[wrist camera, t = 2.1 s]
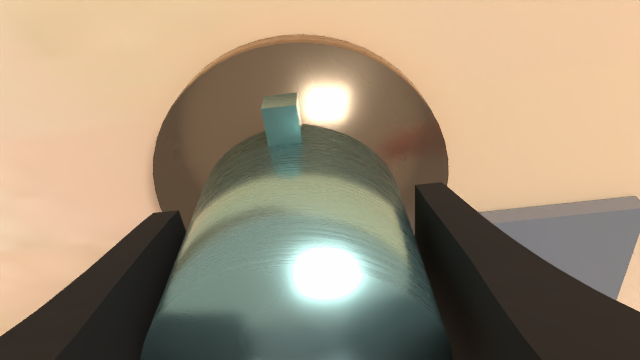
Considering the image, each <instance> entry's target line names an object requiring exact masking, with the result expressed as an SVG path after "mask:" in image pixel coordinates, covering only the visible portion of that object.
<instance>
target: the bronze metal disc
mask: <svg viewBox="0 0 640 360" xmlns="http://www.w3.org/2000/svg"><path fill="white" fill-rule="evenodd" d="M296 92H297V95H298V101H299V108H300V115H301V122H302V125H303V126H317V127H322V128H327V129H332V130H335V131H338V132H341V133H344V134H346V135H348V136H351V137H353V138H355V139H357V140H359V141H360V142H362V143H363V144H365V145H366V146H368V147H369V148H370V149H372V150H373V151H374V152H375V153H376V154H377V155H378V156H379V157H380V158H381V159H382V160H383V161H384V162H385V163H386V165H387V166H388V168H389V169H390V171H391V172H392V174H393V176H394V178H395V181H396V183H397V185H398V188H399V191H400V194H401V197H402V200H403V203H404V206H405V209H406V212H407V215H408V218H409V221H410V224H411V227H412V230H413V233H414V236H415V185H418V184H428V183H437V182H442V183H443V184H445V185H446V186H447V183H448V156H447V150H446V145H445V141H444V138H443V135H442V132H441V129H440V127H439V124H438V122H437V120H436V119H435V117H434V115H433V113H432V111H431V109H430V108H429V106H428V105H427V103H426V101H425V100H424V98H423V97H422V95H421V94H420V93H419V91H418V90H417V89H416V87H415V86H414V85H413V83H412V82H411V81H410V80H409V79H408V78H407V77H406V76H405V75H404V74H403V73H402V72H401V71H399V70H398V69H397V68H396V67H394V66H393V65H392V64H390V63H389V62H388V61H386V60H385V59H383V58H382V57H380V56H378V55H376V54H375V53H373V52H371V51H369V50H367V49H365V48H363V47H360V46H357V45H355V44H352V43H349V42H347V41H343V40H339V39H334V38H330V37H325V36H315V35H284V36H276V37H271V38H266V39H261V40H257V41H254V42H251V43H248V44H246V45H243V46H240V47H238V48H236V49H234V50H232V51H230V52H228V53H226V54H224V55H222V56H220V57H219V58H217V59H216V60H215V61H213V62H212V63H210V64H209V65H207V66H206V67H205V68H204V69H203V70H202V71H201V72H200V73H198V74H197V75H196V76H195V77H194V78H193V79H192V80H191V81H190V83H189V84H188V85H187V86H186V88H185V89H184V90H183V92H182V93H181V94H180V96H179V97H178V98H177V100H176V101H175V103H174V104H173V105H172V107H171V109H170V111H169V112H168V114H167V116H166V118H165V120H164V121H163V123H162V126H161V129H160V132H159V135H158V137H157V141H156V146H155V152H154V157H153V177H154V184H155V191H156V194H157V198H158V201H159V205H160V207H161V210H162V212H168V211H177V210H179V212H180V215H181V218H182V221H183V224H184V226H185V229H186V232H187V229H188V227H189V224H190V221H191V219H192V216H193V214H194V211H195V208H196V206H197V203H198V200H199V198H200V195H201V193H202V190H203V187H204V185H205V182H206V180H207V178H208V176H209V174H210V172H211V170H212V169H213V167H214V166H215V164H216V163H217V162H218V161H219V160H220V159H221V157H222V156H223V155H224V154H225V153H226V152H228V151H229V150H230V149H231V148H232V147H234V146H235V145H237V144H238V143H240V142H241V141H243V140H245V139H246V138H248V137H251V136H253V135H255V134H257V133H260V132H263V131H265V127H264V122H263V117H262V112H261V107H262V102H263V98H264V96H270V95H279V94H287V93H296Z"/></svg>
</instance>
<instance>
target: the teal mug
mask: <svg viewBox="0 0 640 360" xmlns="http://www.w3.org/2000/svg"><path fill="white" fill-rule="evenodd" d="M261 112H262V117H263V122H264V127H265V131H263V132H260V133H257V134H255V135H253V136H251V137H248V138H246V139H245V140H243V141H241V142H240V143H238V144H237V145H235V146H234V147H232V148H231V149H230V150H229V151H228V152H226V153H225V154H224V155H223V156H222V157H221V159H220V160H219V161H218V162H217V163H216V164H215V166H214V167H213V169H212V170H211V172H210V174H209V176H208V178H207V180H206V182H205V185H204V187H203V190H202V193H201V195H200V198H199V200H198V203H197V206H196V208H195V211H194V214H193V216H192V219H191V221H190V224H189V227H188V229H187V232H186V234H185V237H184V240H183V242H182V245H181V247H180V250H179V253H178V255H177V258H176V261H175V263H174V266H173V268H172V271H171V274H170V276H169V279H168V281H167V284H166V287H165V289H164V292H163V294H162V297H161V300H160V302H159V305H158V307H157V310H156V313H155V315H154V318H153V321H152V323H151V326H150V328H149V331H148V334H147V336H146V339H145V341H144V344H143V349H142V353H141V360H453V354H452V350H451V346H450V342H449V338H448V335H447V332H446V329H445V326H444V323H443V320H442V317H441V314H440V311H439V308H438V305H437V302H436V299H435V296H434V293H433V290H432V287H431V284H430V281H429V278H428V275H427V272H426V269H425V266H424V263H423V260H422V257H421V254H420V251H419V248H418V245H417V242H416V239H415V236H414V233H413V230H412V227H411V224H410V221H409V218H408V215H407V212H406V209H405V206H404V203H403V200H402V197H401V194H400V191H399V188H398V185H397V183H396V181H395V178H394V176H393V174H392V172H391V171H390V169H389V168H388V166H387V165H386V163H385V162H384V161H383V160H382V159H381V158H380V157H379V156H378V155H377V154H376V153H375V152H374V151H373V150H372V149H370V148H369V147H368V146H366V145H365V144H363V143H362V142H360V141H359V140H357V139H355V138H353V137H351V136H348V135H346V134H344V133H341V132H338V131H335V130H332V129H327V128H322V127H317V126H303V125H302V122H301V115H300V108H299V101H298V95H297V92H296V93H287V94H279V95H270V96H264V98H263V102H262V107H261Z"/></svg>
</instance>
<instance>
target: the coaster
mask: <svg viewBox="0 0 640 360" xmlns="http://www.w3.org/2000/svg"><path fill="white" fill-rule="evenodd" d="M478 213H480V214H481V215H482V216H483V217H485V218H486V219H487V220H489V221H490V222H491V223H492V224H494V225H495V226H496V227H498V228H499V229H500V230H502V231H503V232H504V233H506V234H507V235H509V236H510V237H511V238H513V239H514V240H515V241H517V242H518V243H520V244H521V245H523V246H524V247H526V248H527V249H529V250H530V251H532V252H533V253H535V254H536V255H538V256H539V257H541V258H542V259H544V260H545V261H547V262H548V263H550V264H552V265H553V266H555V267H557V268H558V269H560V270H562V271H563V272H565V273H567V274H569V275H570V276H572V277H574V278H576V279H577V280H579V281H581V282H583V283H584V284H586V285H588V286H590V287H591V288H593V289H595V290H597V291H599V292H601V293H603V294H605V295H606V296H608V297H610V298H612V299H614V300H616V299H617V297H618V294H619V291H620V288H621V285H622V282H623V279H624V276H625V274H626V271H627V268H628V265H629V262H630V259H631V256H632V253H633V251H634V248H635V245H636V242H637V239H638V236H639V233H640V200H639V199H638V198H637V197H636V196H631V197H621V198H612V199H602V200H593V201H583V202H574V203H564V204H554V205H545V206H535V207H526V208H516V209H507V210H497V211H488V212H478Z"/></svg>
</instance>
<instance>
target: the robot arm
mask: <svg viewBox="0 0 640 360" xmlns="http://www.w3.org/2000/svg"><path fill="white" fill-rule="evenodd" d="M185 234H186V229H185V226H184V224H183V221H182V218H181V215H180V212H179V210H177V211H168V212H158V213H153V214H152V215H150V216H149V217H148V218H146V219H145V220H144V221H143V222H142V223H140V224H139V225H138V226H137V227H136V228H135V229H133V230H132V231H131V232H130V233H129V234H128V235H127V236H125V237H124V238H123V239H122V240H121V241H120V242H119V243H117V244H116V245H115V246H114V247H113V248H112V249H111V250H110V251H108V252H107V253H106V254H105V255H104V256H103V257H101V258H100V259H99V260H98V261H97V262H96V263H95V264H93V265H92V266H91V267H90V268H89V269H88V270H87V271H85V272H84V273H83V274H82V275H80V276H79V277H78V278H77V279H75V280H74V281H73V282H72V283H71V284H69V285H68V286H67V287H66V288H64V289H63V290H62V291H61V292H59V293H58V294H57V295H56V296H55V297H53V298H52V299H51V300H50V301H48V302H47V303H46V304H45V305H43V306H42V307H41V308H39V309H38V310H37V311H35V312H34V313H33V314H31V315H30V316H29V317H27V318H26V319H24V320H23V321H22V322H20V323H19V324H18V325H16V326H15V327H13V328H12V329H10V330H9V331H7V332H6V333H5V334H3V335H2V336H0V360H141V353H142V349H143V344H144V341H145V339H146V336H147V334H148V331H149V328H150V326H151V323H152V321H153V318H154V315H155V313H156V310H157V307H158V305H159V302H160V300H161V297H162V294H163V292H164V289H165V287H166V284H167V281H168V279H169V276H170V274H171V271H172V268H173V266H174V263H175V261H176V258H177V255H178V253H179V250H180V247H181V245H182V242H183V240H184V237H185ZM415 239H416V242H417V245H418V248H419V251H420V254H421V257H422V260H423V263H424V266H425V269H426V272H427V275H428V278H429V281H430V284H431V287H432V290H433V293H434V296H435V299H436V302H437V305H438V308H439V311H440V314H441V317H442V320H443V323H444V326H445V329H446V332H447V335H448V338H449V342H450V346H451V350H452V354H453V360H640V312H639V311H637V310H635V309H633V308H630V307H628V306H626V305H624V304H622V303H620V302H618V301H616V300H614V299H612V298H610V297H608V296H606V295H605V294H603V293H601V292H599V291H597V290H595V289H593V288H591V287H590V286H588V285H586V284H584V283H583V282H581V281H579V280H577V279H576V278H574V277H572V276H570V275H569V274H567V273H565V272H563V271H562V270H560V269H558V268H557V267H555V266H553V265H552V264H550V263H548V262H547V261H545V260H544V259H542V258H541V257H539V256H538V255H536V254H535V253H533V252H532V251H530V250H529V249H527V248H526V247H524V246H523V245H521V244H520V243H518V242H517V241H515V240H514V239H513V238H511V237H510V236H509V235H507V234H506V233H504V232H503V231H502V230H500V229H499V228H498V227H496V226H495V225H494V224H492V223H491V222H490V221H489V220H487V219H486V218H485V217H483V216H482V215H481V214H480V213H478V212H477V211H476V210H475V209H473V208H472V207H471V206H470V205H469V204H467V203H466V202H465V201H464V200H463V199H461V198H460V197H459V196H458V195H457V194H455V193H454V192H453V191H452V190H451V189H449V188H448V187H447V186H446V185H445V184H443V183H442V182H437V183H428V184H418V185H415Z"/></svg>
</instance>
